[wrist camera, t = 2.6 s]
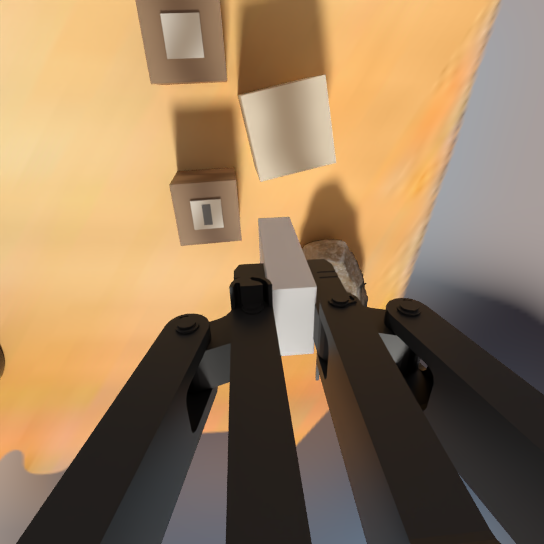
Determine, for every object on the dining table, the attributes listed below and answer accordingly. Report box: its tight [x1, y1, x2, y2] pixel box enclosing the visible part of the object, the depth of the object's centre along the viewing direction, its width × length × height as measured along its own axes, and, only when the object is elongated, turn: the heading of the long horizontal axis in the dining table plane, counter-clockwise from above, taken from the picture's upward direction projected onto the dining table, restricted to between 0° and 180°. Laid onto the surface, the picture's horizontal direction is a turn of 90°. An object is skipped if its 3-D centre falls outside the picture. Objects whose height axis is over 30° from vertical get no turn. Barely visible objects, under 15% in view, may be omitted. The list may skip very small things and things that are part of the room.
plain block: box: [238, 75, 336, 181], centre depth 32 cm, size 7×7×7 cm
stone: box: [302, 239, 368, 307], centre depth 41 cm, size 7×12×7 cm, turn 27°
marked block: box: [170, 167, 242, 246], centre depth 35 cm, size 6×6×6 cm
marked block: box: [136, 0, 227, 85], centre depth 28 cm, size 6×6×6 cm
